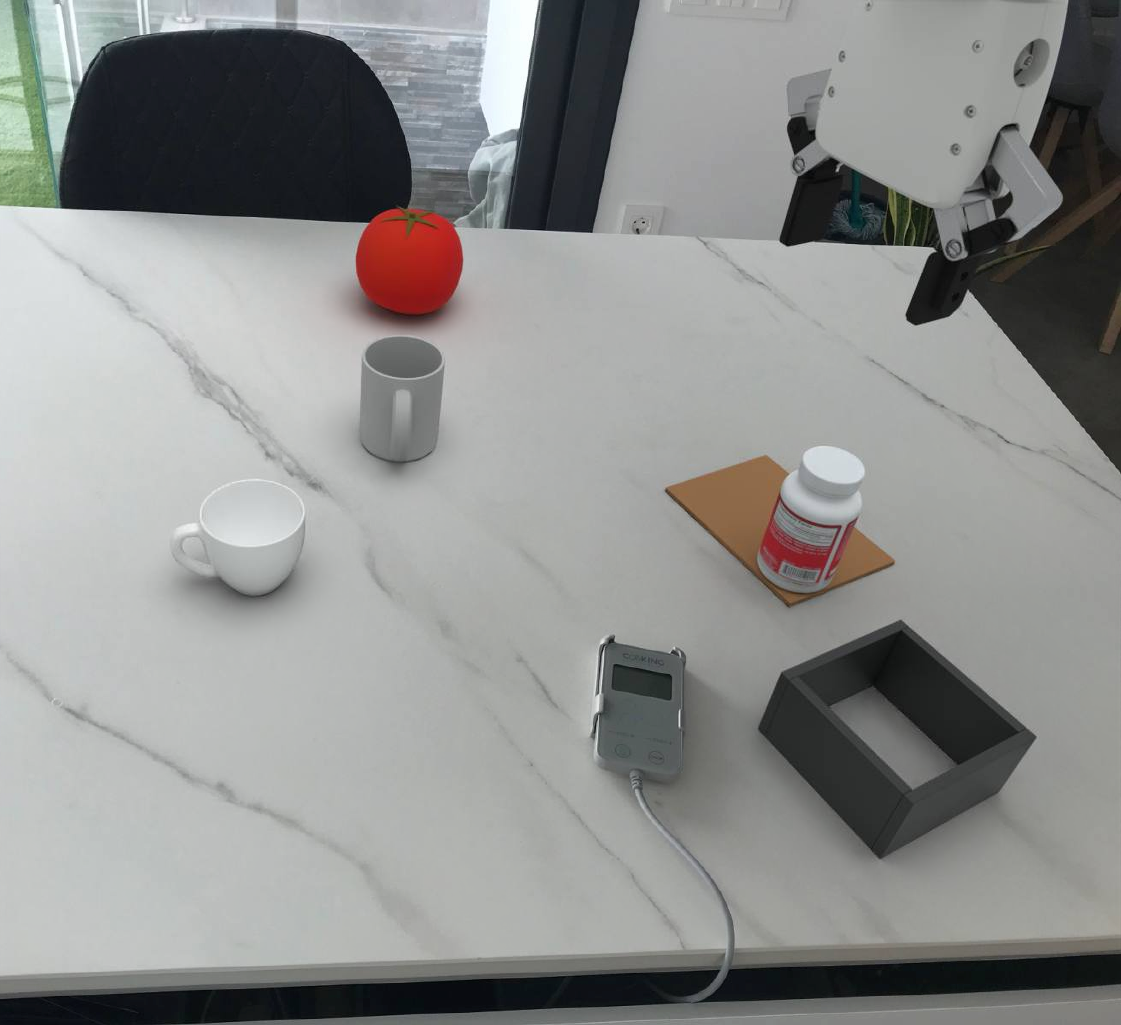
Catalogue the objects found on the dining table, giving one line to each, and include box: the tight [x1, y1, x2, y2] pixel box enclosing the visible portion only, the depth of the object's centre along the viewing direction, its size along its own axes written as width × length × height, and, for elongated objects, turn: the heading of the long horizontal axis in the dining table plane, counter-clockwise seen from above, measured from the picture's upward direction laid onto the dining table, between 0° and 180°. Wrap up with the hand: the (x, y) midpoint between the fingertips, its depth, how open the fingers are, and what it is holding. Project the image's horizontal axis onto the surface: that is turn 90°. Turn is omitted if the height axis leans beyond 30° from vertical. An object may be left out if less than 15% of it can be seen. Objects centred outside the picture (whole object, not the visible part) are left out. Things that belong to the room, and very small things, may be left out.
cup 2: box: [358, 334, 446, 463], centre depth 95 cm, size 7×10×9 cm
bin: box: [757, 619, 1038, 860], centre depth 73 cm, size 12×12×6 cm
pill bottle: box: [757, 445, 866, 593], centre depth 85 cm, size 6×6×11 cm
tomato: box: [355, 205, 464, 315], centre depth 115 cm, size 11×12×10 cm
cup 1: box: [170, 478, 306, 597], centre depth 82 cm, size 8×10×7 cm
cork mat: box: [664, 454, 896, 607], centre depth 93 cm, size 16×12×1 cm
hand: (861, 278), depth 61 cm, fingers open, 9 cm apart
